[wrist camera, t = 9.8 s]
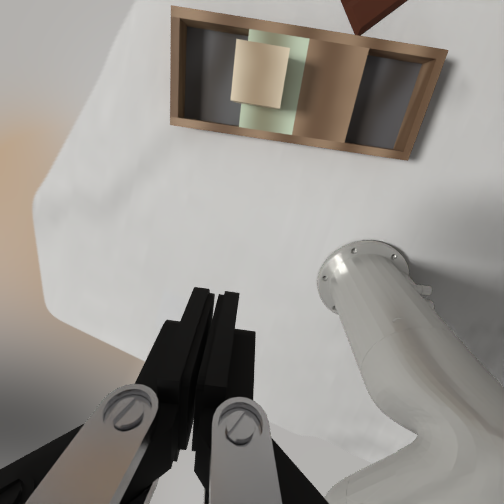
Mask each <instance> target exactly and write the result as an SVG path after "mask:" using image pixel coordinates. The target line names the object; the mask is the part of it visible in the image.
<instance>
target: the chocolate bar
mask: <svg viewBox="0 0 504 504" xmlns="http://www.w3.org/2000/svg"><path fill="white" fill-rule="evenodd" d="M406 1H407V0H341V2H342V5H343V7H344V10H345V12H346V14H347V17H348V19H349V22H350V24H351V26H352V29H353V31H354V34H355V35H358V36H360V35H361V34H363V33H364V32H365V31H367V30H368V29H369V28H371V27H372V26H373V25H375V24H376V23H377V22H379V21H380V20H381V19H383V18H384V17H386V16H387V15H388V14H390V13H391V12H392V11H394V10H395V9H396V8H398V7H399V6H400V5H402V4H403V3H404V2H406Z"/></svg>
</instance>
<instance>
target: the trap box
mask: <svg viewBox="0 0 504 504" xmlns="http://www.w3.org/2000/svg"><path fill="white" fill-rule="evenodd" d="M236 39H240V40H246V41H252V42H258V43H264V44H270V45H275V46H281V47H287V48H290V52H289V58H288V64H287V70H286V75H285V81H284V87H283V93H282V99H281V105H280V109H273V108H267V107H261V106H254V105H248V104H242V103H236V102H233V101H231V90H232V80H233V69H234V59H235V49H236ZM447 53H448V50H445V49H439V48H433V47H426V46H420V45H414V44H408V43H402V42H395V41H389V40H383V39H377V38H371V37H364V36H358V35H352V34H346V33H340V32H333V31H327V30H321V29H315V28H309V27H302V26H296V25H290V24H284V23H278V22H271V21H265V20H259V19H253V18H246V17H240V16H234V15H228V14H222V13H215V12H209V11H203V10H197V9H191V8H184V7H178V6H172V5H171V83H170V125H174V126H181V127H188V128H194V129H201V130H208V131H214V132H221V133H228V134H234V135H241V136H248V137H254V138H261V139H267V140H274V141H281V142H287V143H294V144H301V145H307V146H314V147H321V148H327V149H334V150H341V151H347V152H354V153H361V154H367V155H374V156H381V157H387V158H394V159H401V160H407V161H408V159H409V156H410V154H411V151H412V148H413V145H414V143H415V140H416V137H417V135H418V132H419V129H420V126H421V124H422V121H423V118H424V116H425V113H426V110H427V107H428V105H429V102H430V99H431V97H432V94H433V91H434V88H435V86H436V83H437V80H438V78H439V75H440V72H441V69H442V67H443V64H444V61H445V59H446V56H447Z"/></svg>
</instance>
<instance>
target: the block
mask: <svg viewBox="0 0 504 504" xmlns="http://www.w3.org/2000/svg"><path fill="white" fill-rule="evenodd" d="M289 52H290V48H287V47H281V46H275V45H270V44H264V43H258V42H252V41H246V40H240V39H236V49H235V59H234V69H233V80H232V90H231V101H233V102H236V103H242V104H248V105H254V106H261V107H267V108H273V109H280V105H281V99H282V93H283V87H284V81H285V75H286V70H287V64H288V58H289Z"/></svg>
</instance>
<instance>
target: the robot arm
mask: <svg viewBox="0 0 504 504" xmlns="http://www.w3.org/2000/svg"><path fill="white" fill-rule="evenodd" d="M353 248H354V249H353ZM352 249H353V250H352ZM317 286H318V292H319V295H320V298H321V300H322V302H323V303H324V304H325V306H326V307H327V308H328V309H329V310H331V311H332V312H334V313H336V314H338V315H339V317H340V320H341V323H342V325H343V328H344V330H345V333H346V336H347V338H348V341H349V344H350V346H351V349H352V352H353V354H354V357H355V360H356V362H357V365H358V368H359V370H360V373H361V376H362V378H363V381H364V384H365V386H366V389H367V391H368V393H369V395H370V397H371V399H372V400H373V402H374V403H375V404H376V406H377V407H378V408H379V409H380V410H381V411H382V412H383V413H384V414H385V415H386V416H388V417H389V418H390V419H392V420H393V421H394V422H396V423H398V424H399V425H401V426H402V427H404V428H406V429H408V430H410V431H412V432H413V433H415V434H417V435H418V436H417V438H416V439H415V440H414V441H413V442H412V443H411V444H409V445H407V446H405V447H404V448H402V449H400V450H398V451H397V452H396V453H394V454H392V455H390V456H388V457H386V458H384V459H382V460H380V461H378V462H375V463H373V464H372V465H369V466H367V467H365V468H363V469H361V470H359V471H357V472H355V473H354V474H352V475H350V476H348V477H346V478H344V479H343V480H341V481H340V482H338V483H337V484H335V485H334V486H333V487H332V488H331V489H330V490H329V491H328V493H327V494H326V496H325V497H323V496H322V495H321V494H320V493H319V492H318V490H317V489H316V488H315V487H314V486H313V485H312V483H311V482H310V481H309V480H308V479H307V478H306V477H305V476H304V474H303V473H302V472H301V471H300V470H299V469H298V468H297V466H296V465H295V464H294V463H293V462H292V461H291V459H289V457H288V456H287V455H286V454H285V453H284V452H283V450H282V449H281V448H280V447H279V446H278V445H277V444H276V442H275V441H274V440H273V439H272V438H271V433H270V426H269V421H268V418H267V415H266V413H265V411H264V410H263V409H262V407H261V406H260V405H259V404H257V403H256V402H255V401H253V388H254V362H255V331H247V330H240V329H235V322H236V315H237V308H238V300H239V293H235V292H228V291H225V294H224V295H221V294H219V296H218V300H217V303H216V307H215V311H214V315H213V307H214V296H215V294H213V293H210V290H209V289H206V288H198V287H194V289H193V292H192V294H191V296H190V299H189V301H188V304H187V306H186V309H185V311H184V314H183V316H182V319H181V321H180V322H179V321H172V320H166V321H165V323H164V324H163V326H162V328H161V331H160V333H159V335H158V337H157V339H156V341H155V343H154V345H153V347H152V349H151V351H150V353H149V355H148V357H147V359H146V362H145V364H144V366H143V368H142V370H141V372H140V374H139V376H138V378H137V380H136V382H135V384H130V385H125V386H122V387H120V388H117V389H115V390H114V391H112V392H111V393H109V394H108V395H107V396H106V397H105V398H104V399H103V400H102V401H101V403H100V404H99V406H98V407H97V408H96V409H95V411H94V412H93V413H92V415H91V416H90V418H89V419H88V420H87V421H86V423H85V424H83V425H81V426H79V427H77V428H75V429H73V430H72V431H70V432H68V433H66V434H64V435H63V436H61V437H59V438H57V439H55V440H53V441H51V442H50V443H48V444H46V445H44V446H42V447H41V448H39V449H37V450H35V451H33V452H31V453H30V454H28V455H26V456H24V457H22V458H20V459H19V460H17V461H15V462H13V463H11V464H10V465H8V466H6V467H4V468H2V469H0V504H149V503H150V500H151V498H152V495H153V493H154V491H155V489H156V486H157V483H158V479H159V477H160V476H162V475H163V474H164V473H165V472H167V471H168V470H169V469H171V467H172V463H173V461H177V459H178V455H179V451H180V449H182V450H186V449H187V445H188V441H189V437H190V433H191V428H192V424H193V420H194V424H193V439H192V451H196V454H195V466H194V472H195V473H196V475H197V476H198V478H199V480H200V481H201V483H202V485H203V486H204V504H504V387H503V386H502V385H501V384H500V383H499V382H498V381H497V380H496V379H495V378H494V377H493V375H492V374H491V373H490V372H489V371H488V370H487V369H486V368H485V367H484V366H483V365H482V364H481V363H480V362H479V361H478V360H477V358H476V357H475V356H474V355H473V354H472V353H471V352H470V351H469V349H468V348H467V347H466V346H465V345H464V344H463V343H462V342H461V340H460V339H459V338H458V337H457V336H456V335H455V334H454V333H453V331H452V330H451V329H450V328H449V327H448V326H447V325H446V323H445V322H444V321H443V320H442V319H441V318H440V317H439V315H438V314H437V313H436V312H435V311H434V303H433V301H431V300H426V299H424V298H423V297H422V296H421V295H425V296H430V295H431V293H432V288H431V286H427V285H416V284H415V283H414V282H413V281H412V279H411V278H410V277H409V268H408V265H407V263H406V260H405V259H404V258H403V256H402V255H401V254H400V253H399V252H398V251H397V250H396V249H395V248H393V247H391V246H390V245H388V244H385V243H382V242H379V241H372V240H370V241H359V242H354V243H351V244H348V245H345V246H343V247H342V248H340V249H338V250H336V251H335V252H334V253H333V254H332V255H330V256H329V257H328V259H327V260H326V261H325V262H324V264H323V265H322V267H321V269H320V272H319V275H318V280H317ZM212 317H213V319H212Z"/></svg>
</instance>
